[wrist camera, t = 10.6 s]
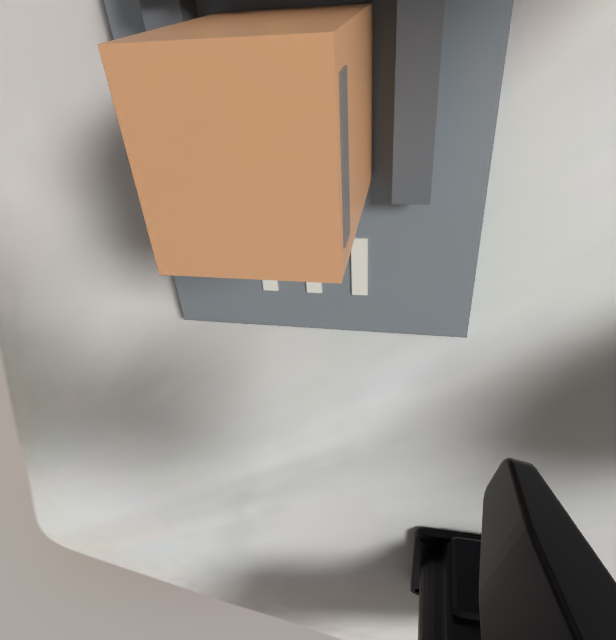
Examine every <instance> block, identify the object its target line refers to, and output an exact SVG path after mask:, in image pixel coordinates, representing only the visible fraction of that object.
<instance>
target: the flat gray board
mask: <svg viewBox="0 0 616 640" xmlns="http://www.w3.org/2000/svg"><path fill="white" fill-rule="evenodd" d="M366 2H373V119H372V179H371V182H370V186H369V189H368V193H367V196H366V200H365V203H364V207H363V210H362V214H361V217H360V221H359V224H358V228H357V231H356V235H355V238H354V242H353V245H352V249H351V252H350V256H349V259H348V263H347V267H346V270H345V274H344V277H343V281H342V284H339V283H318V282H297V281H276V280H256V279H235V278H214V277H193V276H174V280H175V284H176V288H177V292H178V296H179V300H180V304H181V308H182V312H183V316H184V320H199V321H215V322H231V323H246V324H262V325H278V326H293V327H309V328H325V329H340V330H356V331H372V332H387V333H403V334H419V335H434V336H450V337H466V338H467V331H468V324H469V317H470V310H471V302H472V295H473V288H474V281H475V273H476V266H477V259H478V252H479V244H480V237H481V230H482V223H483V215H484V208H485V201H486V194H487V186H488V179H489V172H490V165H491V158H492V150H493V143H494V136H495V129H496V121H497V114H498V107H499V100H500V92H501V85H502V78H503V71H504V63H505V56H506V49H507V42H508V34H509V27H510V20H511V13H512V5H513V0H104V4H105V8H106V12H107V16H108V20H109V24H110V28H111V31H112V35H113V39H114V40H116V39H119V38H123V37H127V36H131V35H135V34H138V33H142V32H146V31H150V30H154V29H158V28H161V27H165V26H169V25H173V24H177V23H180V22H184V21H188V20H192V19H196V18H199V17H203V16H207V15H211V14H215V13H219V12H224V11H239V10H255V9H271V8H287V7H302V6H318V5H334V4H350V3H366Z"/></svg>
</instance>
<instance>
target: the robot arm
mask: <svg viewBox="0 0 616 640" xmlns="http://www.w3.org/2000/svg"><path fill="white" fill-rule="evenodd" d="M411 592H412V593H414V594H416V595H419V621H418V640H616V582H615V580H614V579H613V578H612V576H611V575H610V573H609V572H608V570H607V569H606V568H605V566H604V565H603V563H602V562H601V560H600V559H599V558H598V556H597V555H596V553H595V552H594V550H593V549H592V548H591V546H590V545H589V543H588V542H587V540H586V539H585V538H584V536H583V535H582V533H581V532H580V530H579V529H578V528H577V526H576V525H575V523H574V522H573V520H572V519H571V518H570V516H569V515H568V513H567V512H566V510H565V509H564V508H563V506H562V505H561V503H560V502H559V500H558V499H557V498H556V496H555V495H554V493H553V492H552V490H551V489H550V488H549V486H548V485H547V483H546V482H545V480H544V479H543V478H542V476H541V475H540V473H539V472H538V470H537V469H536V468H535V467H534V466H533V465H532V464H530V463H528V462H524V461H520V460H516V459H513V458H506V459H505V460H503V462H502V463H501V465H500V466H499V468H498V469H497V471H496V473H495V474H494V476H493V478H492V479H491V481H490V483H489V484H488V486H487V488H486V491H485V494H484V500H483V517H482V536H473V535H466V534H459V533H452V532H445V531H438V530H430V529H418V530H417V531H416V534H415V545H414V555H413V566H412V577H411Z"/></svg>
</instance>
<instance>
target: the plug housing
mask: <svg viewBox="0 0 616 640" xmlns="http://www.w3.org/2000/svg"><path fill="white" fill-rule="evenodd" d="M98 48H99V51H100V55H101V59H102V63H103V66H104V70H105V74H106V77H107V81H108V85H109V89H110V92H111V96H112V100H113V104H114V107H115V111H116V115H117V119H118V122H119V126H120V130H121V133H122V137H123V141H124V145H125V148H126V152H127V156H128V160H129V163H130V167H131V171H132V174H133V178H134V182H135V186H136V189H137V193H138V197H139V201H140V204H141V208H142V212H143V216H144V219H145V223H146V227H147V230H148V234H149V238H150V242H151V245H152V249H153V253H154V257H155V260H156V264H157V268H158V272H159V275H172V276H193V277H214V278H235V279H256V280H276V281H297V282H318V283H339V284H342V281H343V277H344V274H345V270H346V267H347V263H348V259H349V256H350V252H351V249H352V245H353V242H354V238H355V235H356V231H357V228H358V224H359V221H360V217H361V214H362V210H363V207H364V203H365V200H366V196H367V193H368V189H369V186H370V182H371V179H372V119H373V2H366V3H350V4H334V5H318V6H302V7H287V8H271V9H255V10H239V11H224V12H219V13H215V14H211V15H207V16H203V17H199V18H196V19H192V20H188V21H184V22H180V23H177V24H173V25H169V26H165V27H161V28H158V29H154V30H150V31H146V32H142V33H138V34H135V35H131V36H127V37H123V38H119V39H116V40H112V41H108V42H104V43H100V44H98Z"/></svg>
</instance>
